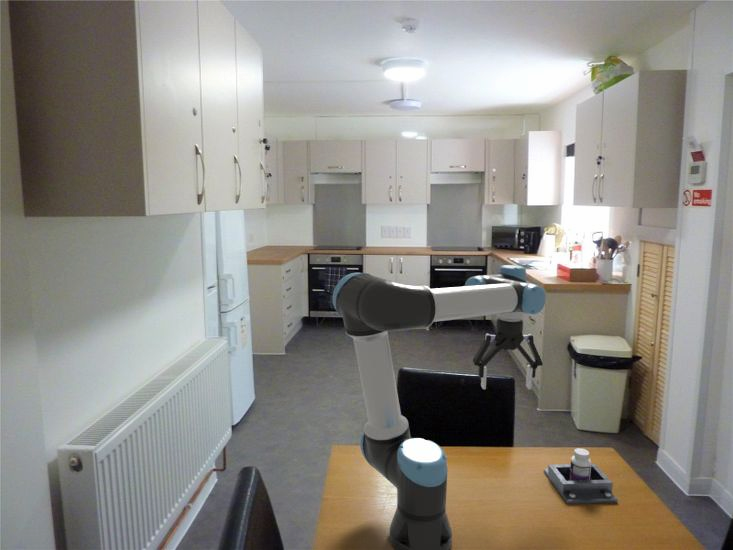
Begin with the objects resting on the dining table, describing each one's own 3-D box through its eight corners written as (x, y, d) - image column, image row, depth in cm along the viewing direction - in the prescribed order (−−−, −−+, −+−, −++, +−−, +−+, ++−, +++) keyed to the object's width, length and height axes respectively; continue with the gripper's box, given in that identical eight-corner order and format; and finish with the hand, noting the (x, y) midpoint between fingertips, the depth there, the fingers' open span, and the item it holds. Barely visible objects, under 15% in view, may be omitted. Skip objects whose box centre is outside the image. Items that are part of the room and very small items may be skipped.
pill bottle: (572, 475, 148) (575, 444, 146) (591, 482, 144) (594, 450, 143) (566, 483, 143) (569, 452, 142) (586, 490, 140) (589, 458, 138)
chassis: (617, 502, 136) (618, 489, 136) (567, 503, 136) (568, 490, 135) (588, 470, 152) (589, 458, 152) (543, 471, 152) (544, 459, 151)
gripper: (547, 315, 150) (542, 383, 153) (464, 315, 149) (461, 382, 153) (557, 321, 143) (552, 392, 146) (470, 321, 142) (467, 392, 145)
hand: (505, 387), depth 149 cm, fingers open, 13 cm apart
